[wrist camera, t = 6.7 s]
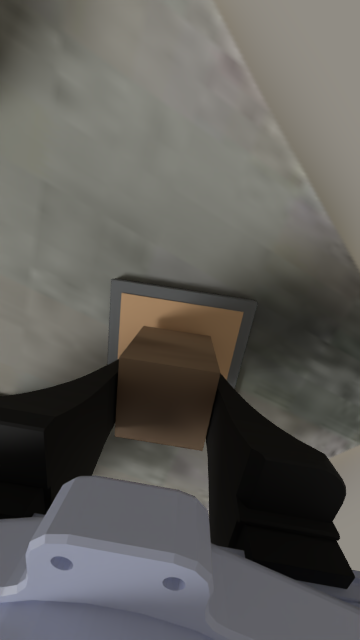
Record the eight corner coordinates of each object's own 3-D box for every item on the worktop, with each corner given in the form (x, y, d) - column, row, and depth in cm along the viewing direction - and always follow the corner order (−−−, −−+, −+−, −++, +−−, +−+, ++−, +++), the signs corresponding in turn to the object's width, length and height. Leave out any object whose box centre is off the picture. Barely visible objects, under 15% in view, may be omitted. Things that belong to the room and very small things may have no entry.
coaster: (224, 414, 16) (226, 422, 16) (109, 395, 17) (105, 402, 16) (254, 300, 14) (258, 302, 13) (115, 278, 14) (110, 279, 13)
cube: (199, 393, 14) (202, 450, 10) (138, 383, 14) (114, 436, 10) (210, 336, 13) (220, 373, 8) (143, 325, 13) (119, 357, 8)
